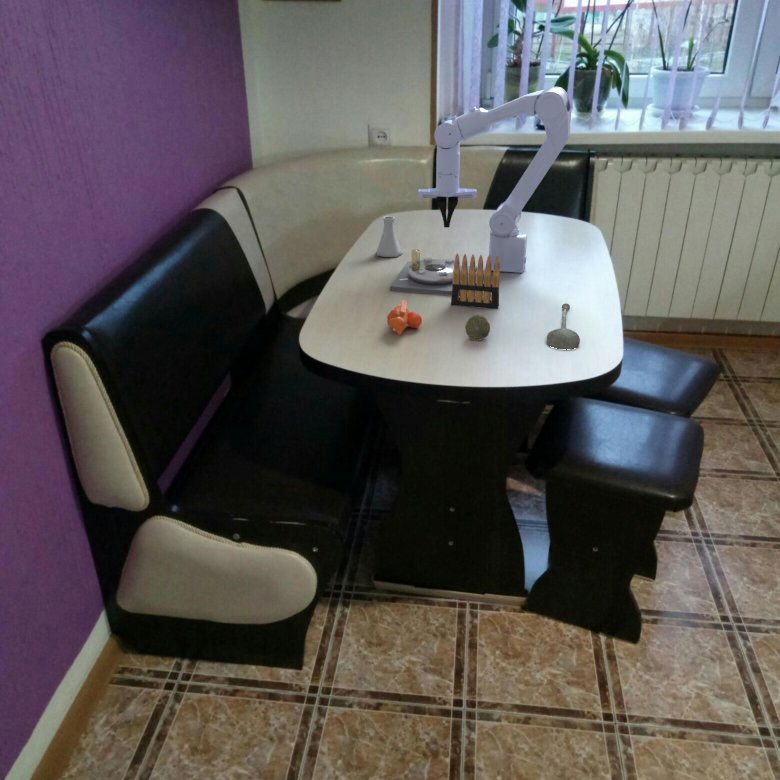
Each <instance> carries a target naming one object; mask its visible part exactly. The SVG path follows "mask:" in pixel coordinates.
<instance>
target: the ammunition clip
mask: <svg viewBox="0 0 780 780" xmlns="http://www.w3.org/2000/svg"><path fill="white" fill-rule="evenodd" d="M482 255H483V254H480V256H479V257H478V259H477V261H478V262H477V271H475V267H476V257H475V255H474V254H472V255H471V257H470V261H469V266H470V269H469V275H468V267H467V266H468V257H467V256H468V255H467V254H466V253H464V255H463V257H462V260H461V261H462V262H460V257H459V256H460V255H459V253H456V255H455V257H454V270H453V286H452V295H451V298H450V299H451V300H450V306H452V307H465V306H466V307H468V308H476V309H477V308H479V309H480V308H481V309H490V310H491V309H492V310H493V309H494V310H498V309H499V307H500V283H501V282H500V280H501V279H500V278H501V273H500V272H501V271H500V269H499V267H500V264H499V257H498V256H497V257H496V259H495V263H494V271H493V272H492V271H491V258H490V255H489V254H488V256H487V259H486V262H485V263H486V264H485V267H486V269H485V268H484V258H483V256H482ZM460 263H461V264H460ZM460 265H462V270H461V280H460ZM484 270H485V271H484ZM467 290H468V291H467Z"/></svg>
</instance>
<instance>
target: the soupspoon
mask: <svg viewBox="0 0 780 780" xmlns="http://www.w3.org/2000/svg"><path fill="white" fill-rule="evenodd" d="M562 308H563V309H562ZM561 309H562V317H561V318H562V319H561V328H556V329H553V330H551V331H549V332H548V333H547V335H546V344H547V345H548V347H550V346H551V347H554V348H557V349H556V350H558V349H566V350H565V351H568V350H567V349H574V348H577V349H578V348H579V346H580V343H581V342H580V340H581V339H580V336H579V334H578V333H577V332H576V331H575V330H572V329H570V328H567V312H568V310H570V309H571V306H570V304H569V303H568V302H567V303H565V302H564V303H563V304H562V305H561ZM551 347H550V348H551Z"/></svg>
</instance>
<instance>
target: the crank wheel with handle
mask: <svg viewBox="0 0 780 780" xmlns="http://www.w3.org/2000/svg"><path fill="white" fill-rule="evenodd" d="M454 261H455V259H451V258H447V259H440V258H437V259H436V258H432V257H423V259H422V260H421V250H420V249H416V248H415V249H412V250H411V262H412V263H411V264H410V266H409V277H410V279H412V280H414V281H416V282H419V283H423V284H433V285H438V284H448V283H452V282H453V270H454ZM461 270H462V267H461V266H460V278H461Z"/></svg>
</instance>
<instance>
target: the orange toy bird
mask: <svg viewBox="0 0 780 780" xmlns="http://www.w3.org/2000/svg"><path fill="white" fill-rule="evenodd" d="M407 303H408V301H407V300H404V299H402V300H401V302H400V304H399V305H397V306H395V307H394V308H393V309H392V310H390V311H389V313H388V314H387V316H386V319H387V320H386V321H387V322H386V324H387V325H388V326H389V327H390V329H392V332H393V333H396V334H397V335H399V336H401V334H402V333H403V331H404V330H405V329H406V327H407V326H408V327H409V328H411V329H418V328H419V327H420V326H421V325H422V324H423V319H422V316H421V315H420V314H419V313H417V312H415V311H409V308H408V307H407V306H408V304H407Z"/></svg>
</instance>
